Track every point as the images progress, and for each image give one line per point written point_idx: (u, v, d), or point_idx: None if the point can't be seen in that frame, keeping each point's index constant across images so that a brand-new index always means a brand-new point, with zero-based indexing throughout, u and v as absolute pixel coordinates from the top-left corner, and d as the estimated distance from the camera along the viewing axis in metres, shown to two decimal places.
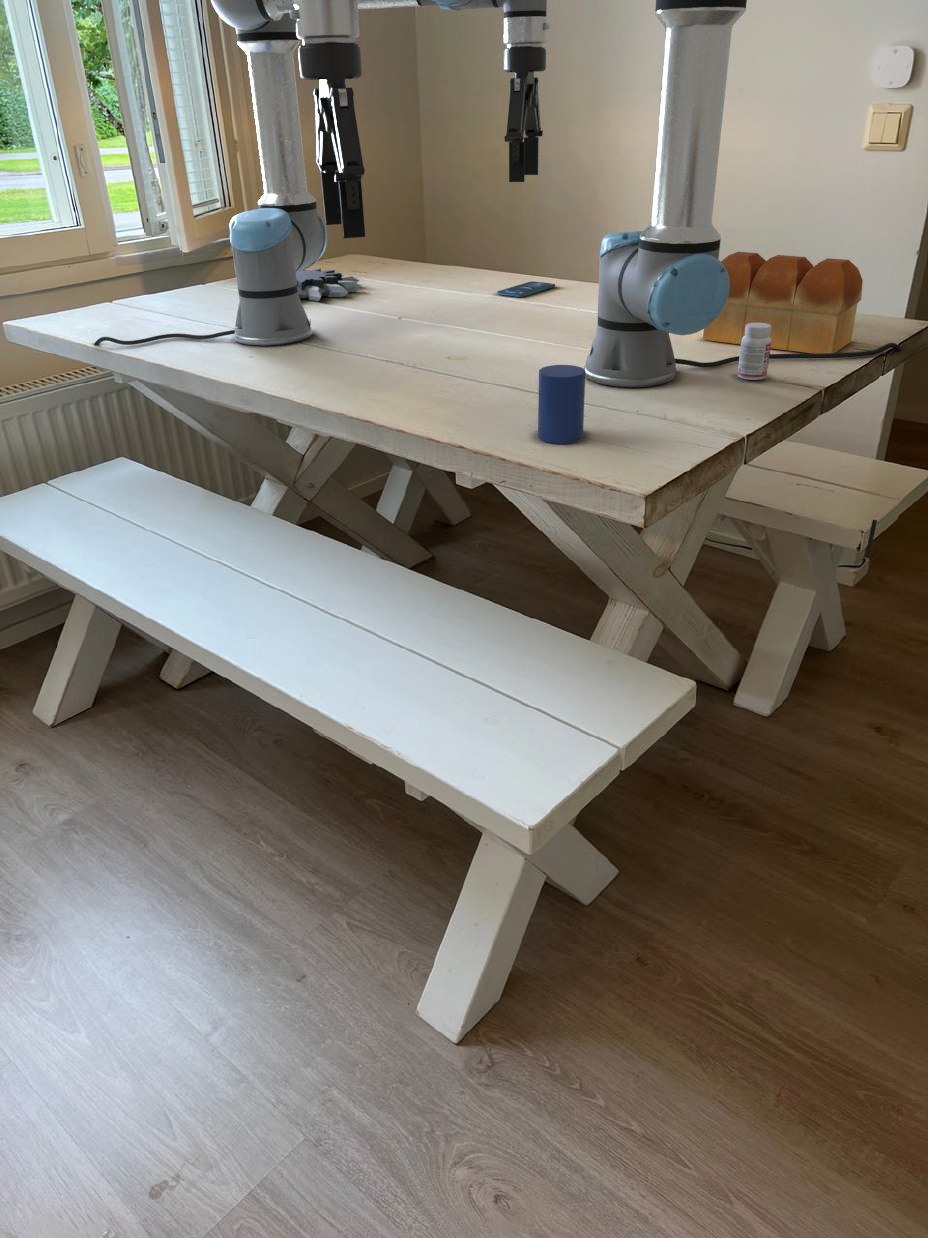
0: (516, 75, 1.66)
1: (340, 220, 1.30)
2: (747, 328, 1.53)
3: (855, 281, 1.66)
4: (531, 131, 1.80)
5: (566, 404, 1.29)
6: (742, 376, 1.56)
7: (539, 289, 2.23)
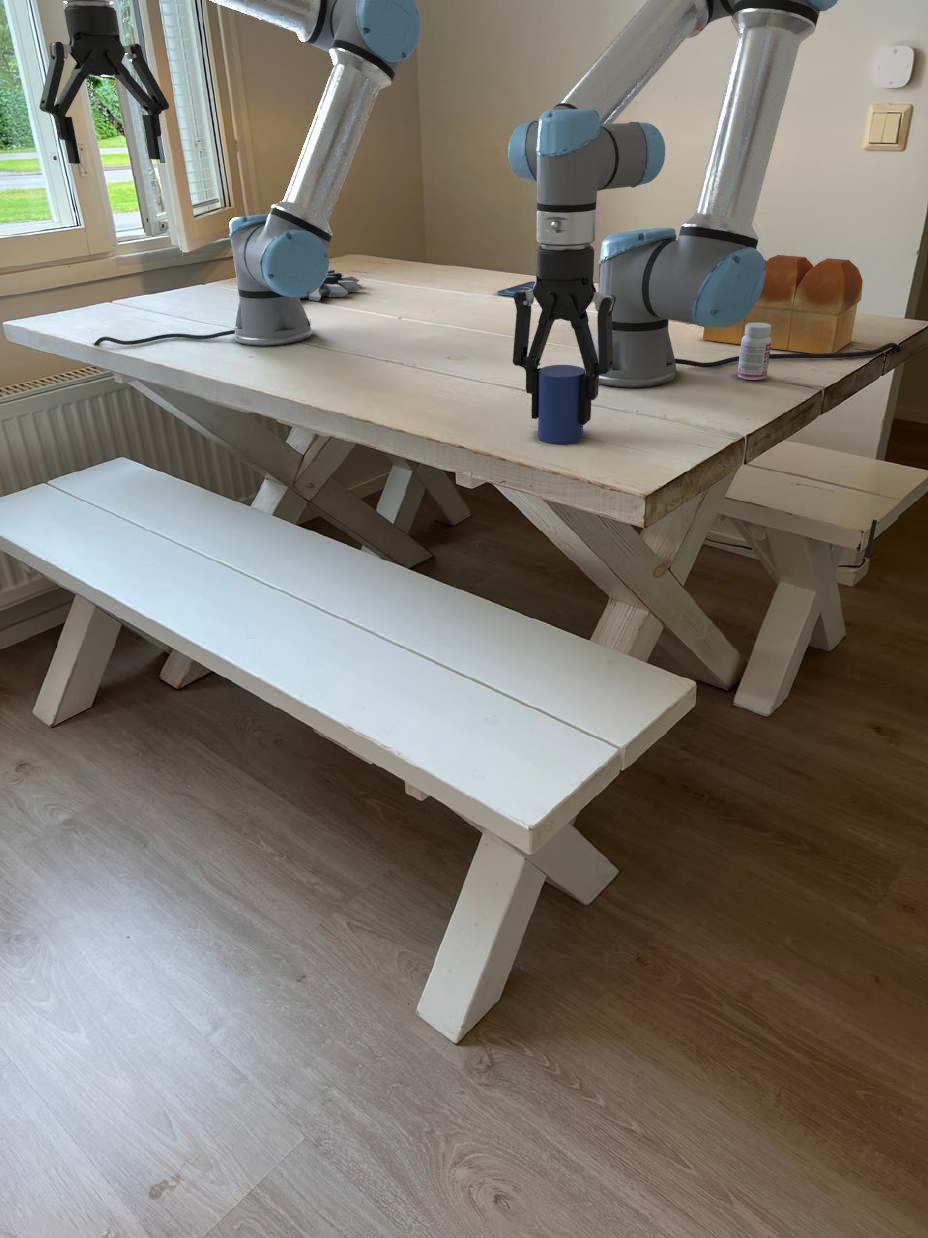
0: None
1: None
2: (747, 328, 1.53)
3: (855, 281, 1.66)
4: (149, 108, 1.54)
5: (567, 404, 1.29)
6: (742, 376, 1.56)
7: None
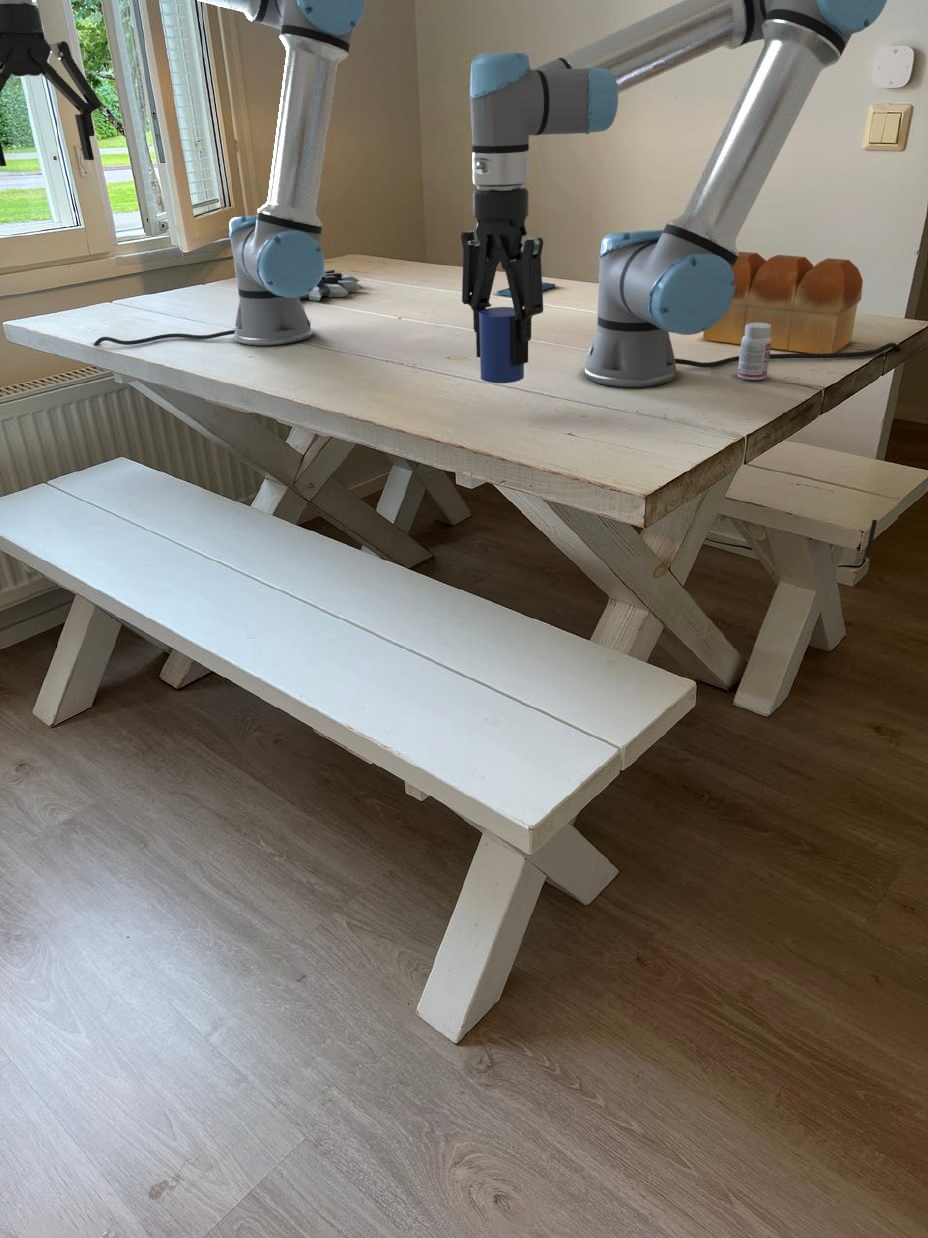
0: None
1: None
2: (747, 328, 1.53)
3: (855, 281, 1.66)
4: None
5: (497, 344, 1.34)
6: (742, 376, 1.56)
7: None
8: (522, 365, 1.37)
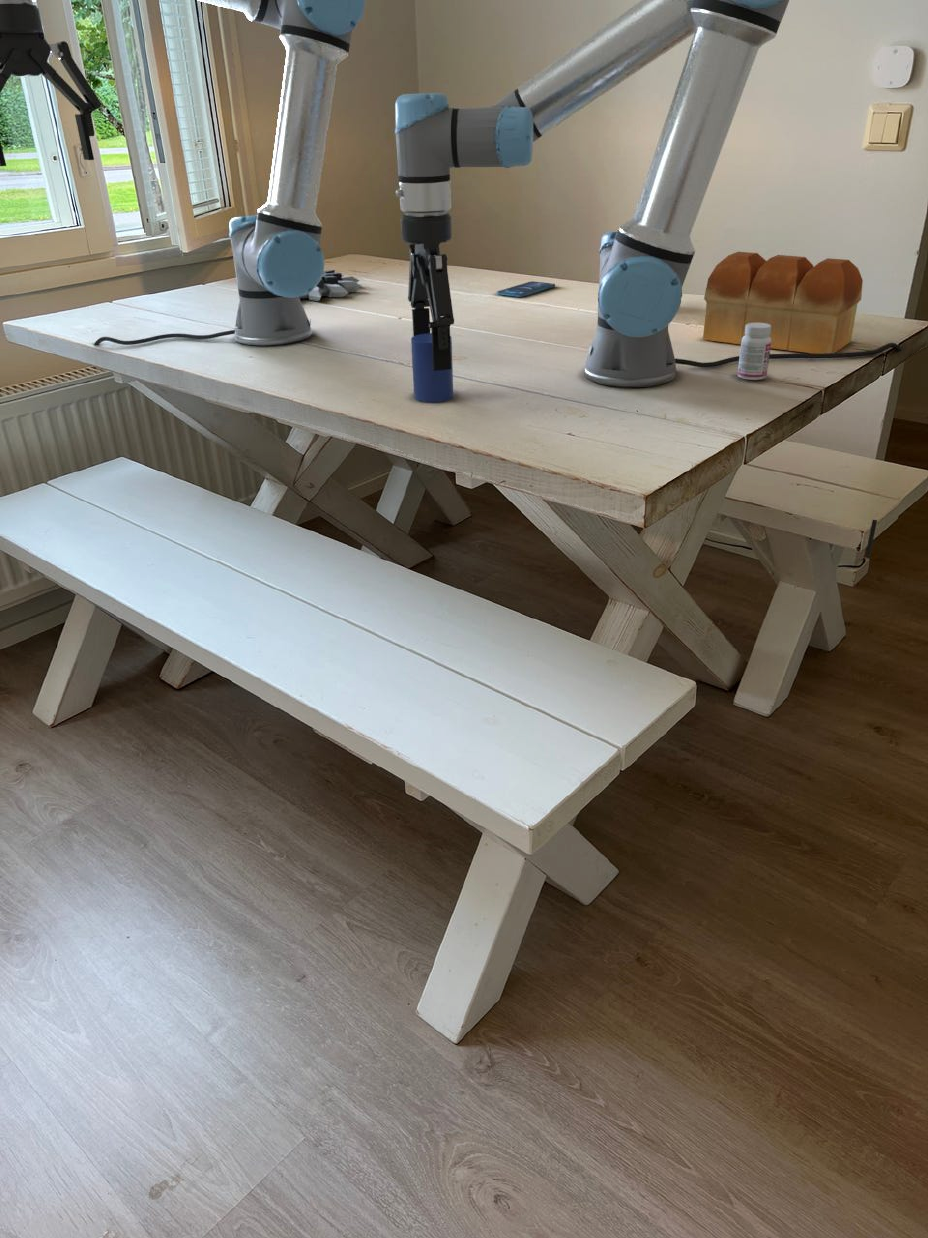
0: None
1: None
2: (747, 328, 1.53)
3: (855, 281, 1.66)
4: None
5: (418, 366, 1.48)
6: (742, 376, 1.56)
7: (539, 289, 2.23)
8: (445, 388, 1.50)
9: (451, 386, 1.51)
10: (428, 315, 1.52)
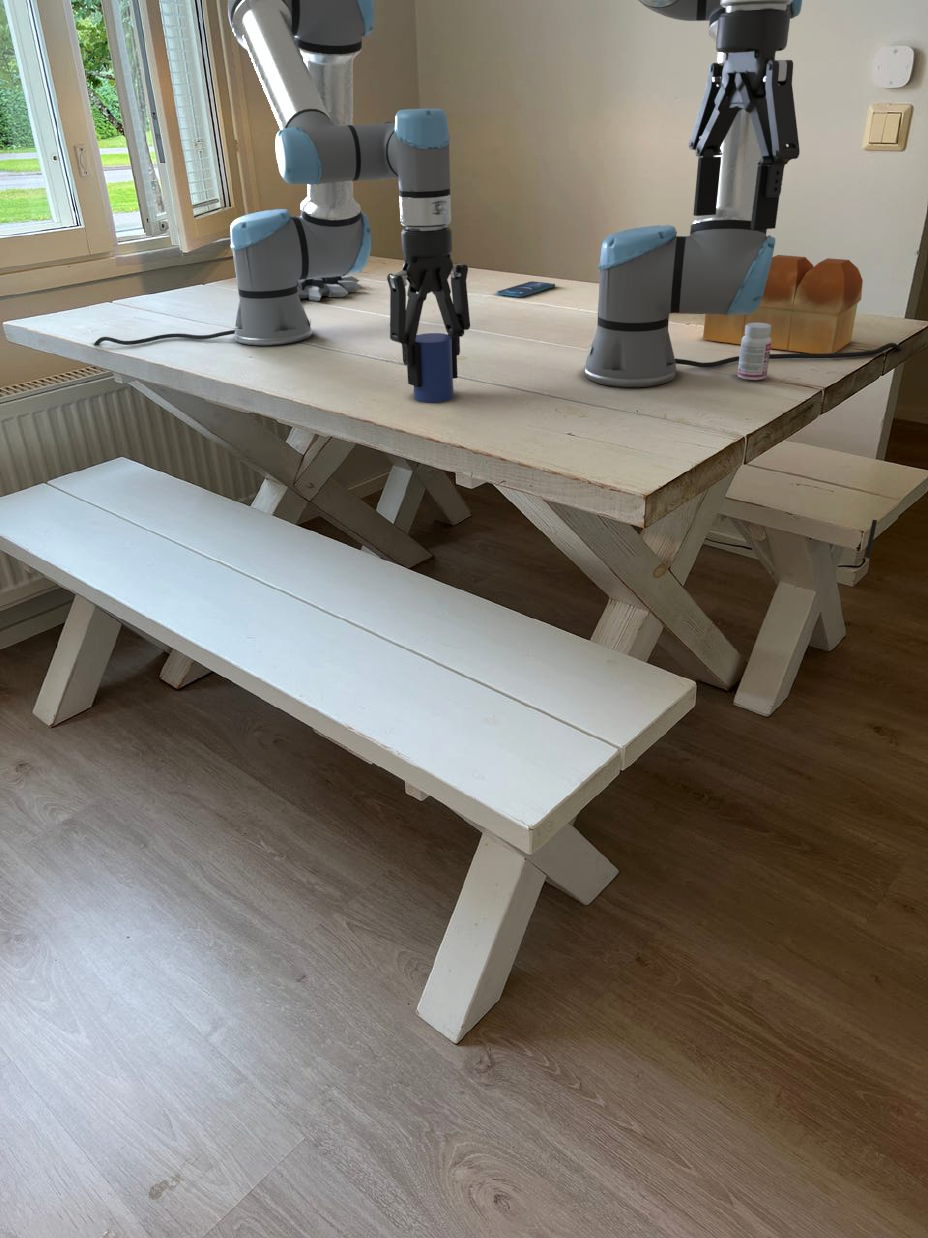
0: None
1: (711, 210, 1.17)
2: (747, 328, 1.53)
3: (855, 281, 1.66)
4: (451, 328, 1.50)
5: None
6: (742, 376, 1.56)
7: (539, 289, 2.23)
8: (445, 388, 1.50)
9: (451, 386, 1.51)
10: (719, 166, 1.15)
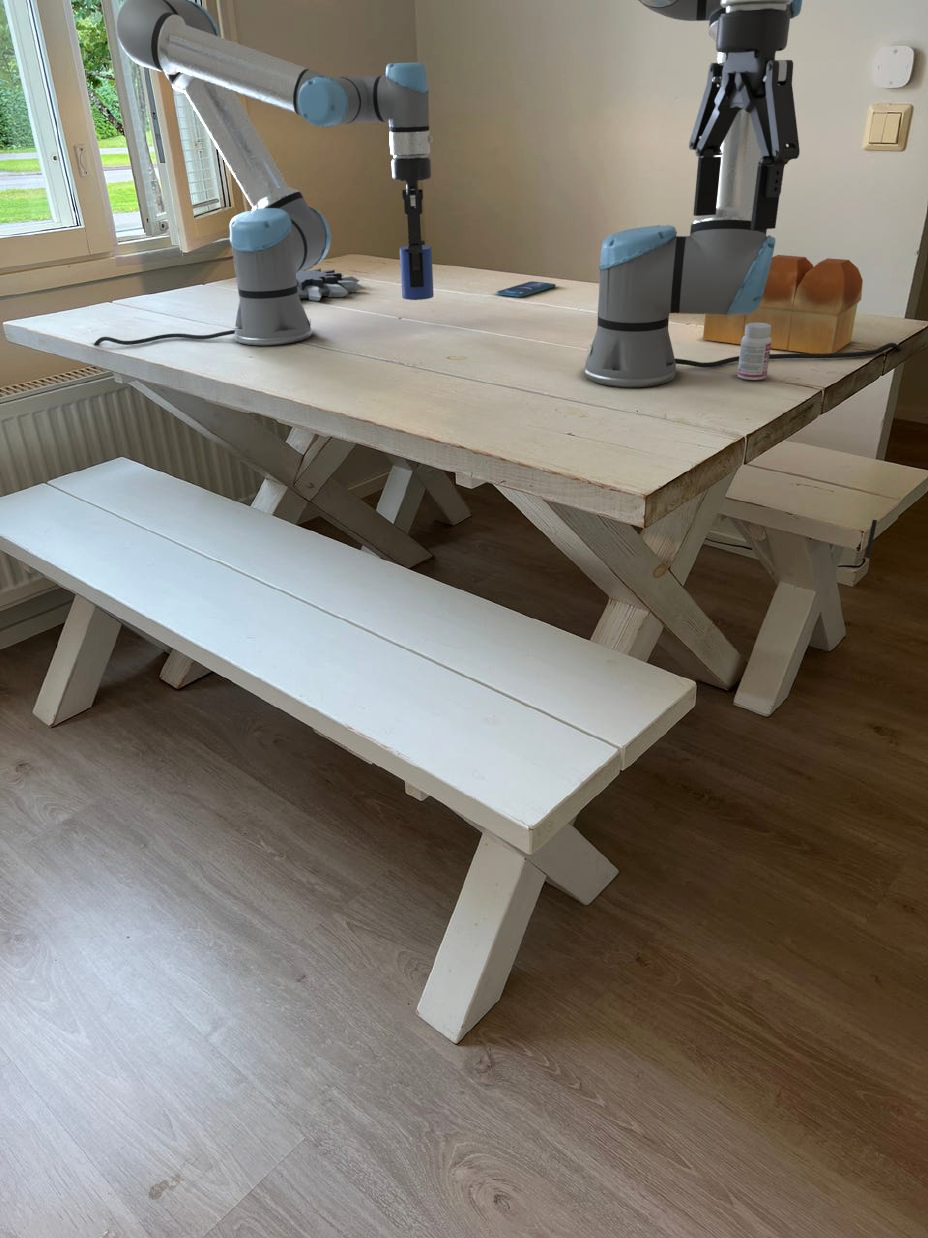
0: (408, 184, 1.78)
1: (711, 210, 1.17)
2: (747, 328, 1.53)
3: (855, 281, 1.66)
4: None
5: None
6: (742, 376, 1.56)
7: (539, 289, 2.23)
8: None
9: None
10: (719, 166, 1.15)
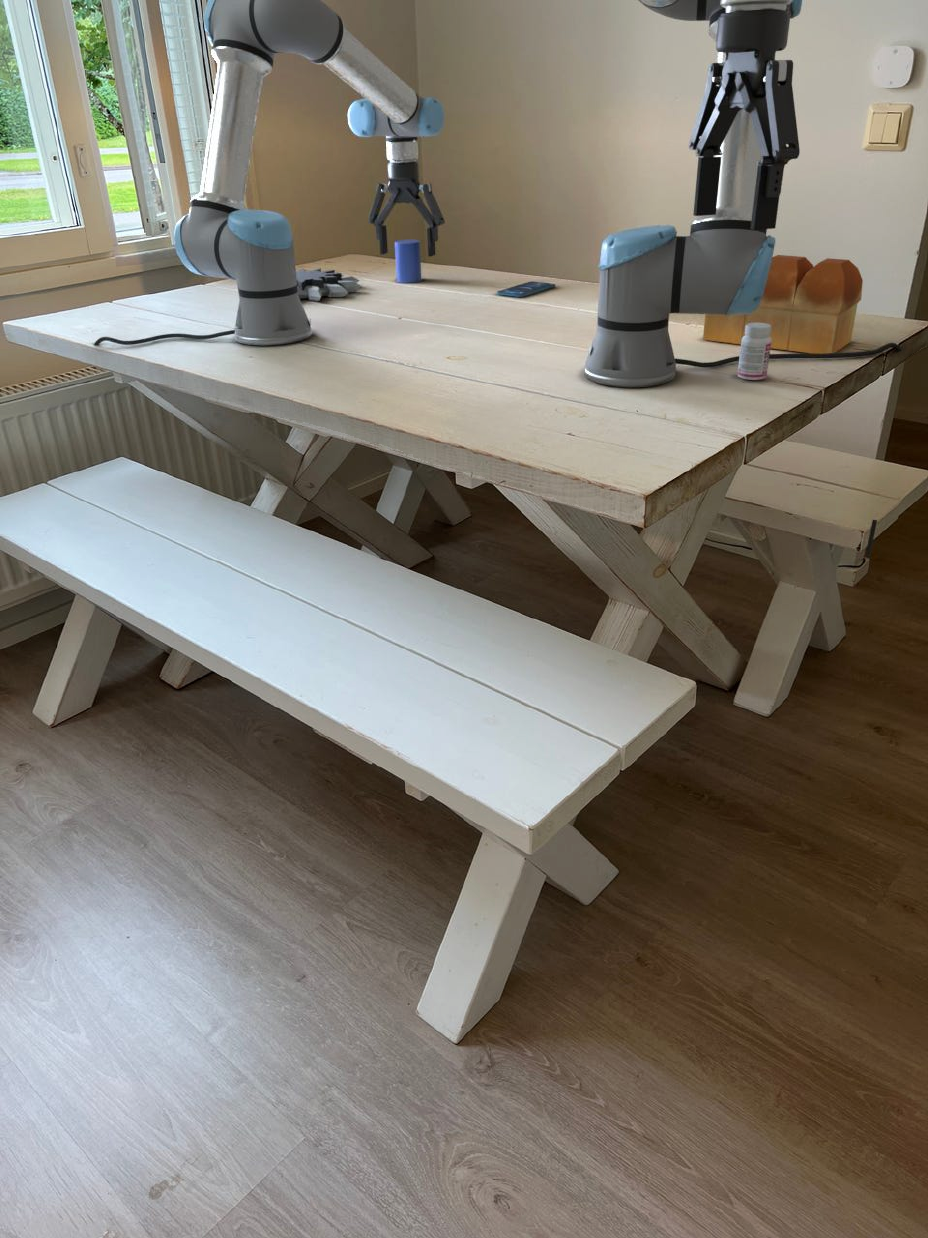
0: (416, 181, 2.28)
1: (711, 210, 1.17)
2: (747, 328, 1.53)
3: (855, 281, 1.66)
4: (380, 222, 2.37)
5: (420, 257, 2.38)
6: (742, 376, 1.56)
7: (539, 289, 2.23)
8: None
9: None
10: (719, 166, 1.15)
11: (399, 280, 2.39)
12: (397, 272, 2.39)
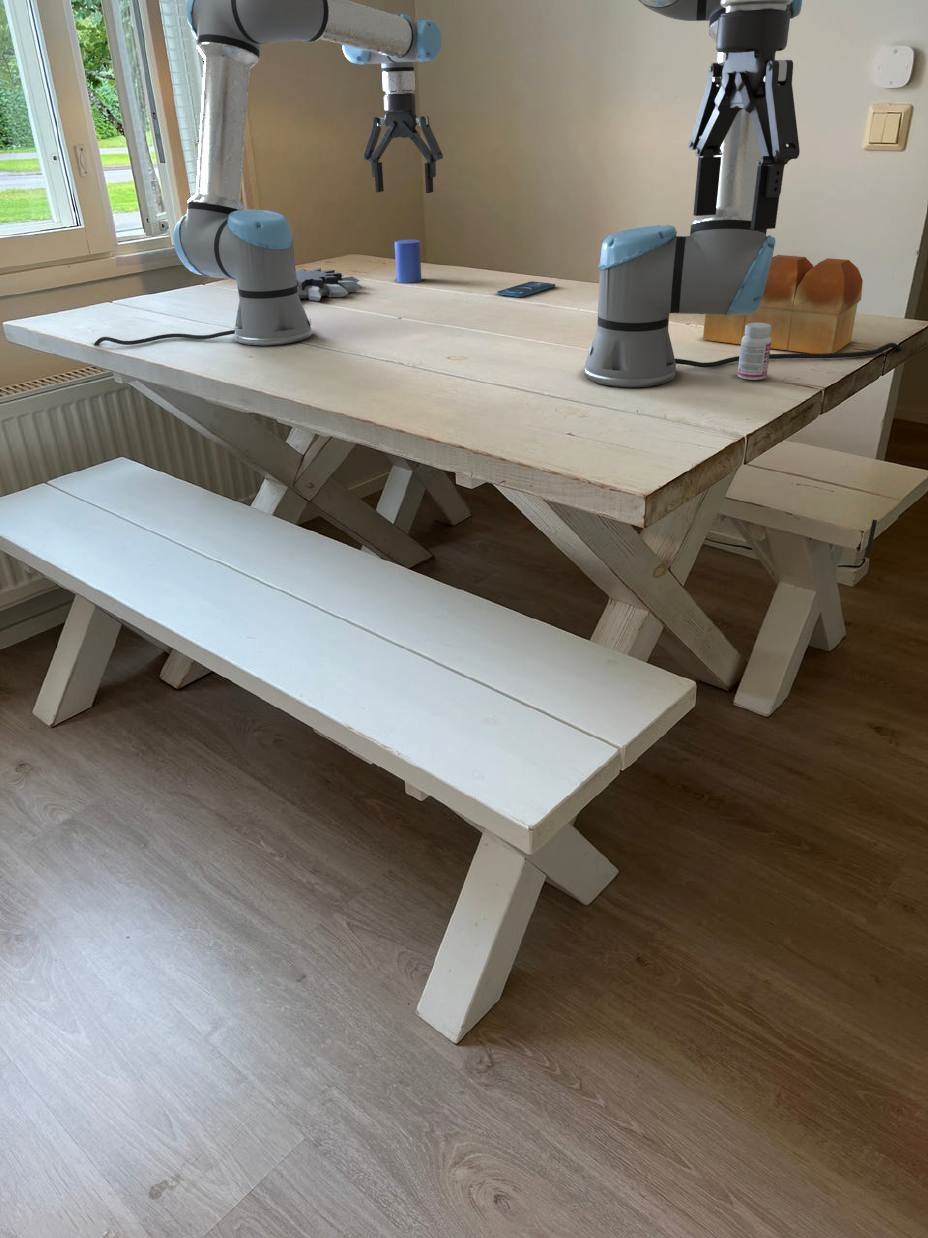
0: (412, 114, 2.20)
1: (711, 210, 1.17)
2: (747, 328, 1.53)
3: (855, 281, 1.66)
4: None
5: (420, 257, 2.38)
6: (742, 376, 1.56)
7: (539, 289, 2.23)
8: None
9: None
10: (719, 166, 1.15)
11: (399, 280, 2.39)
12: (397, 272, 2.39)
